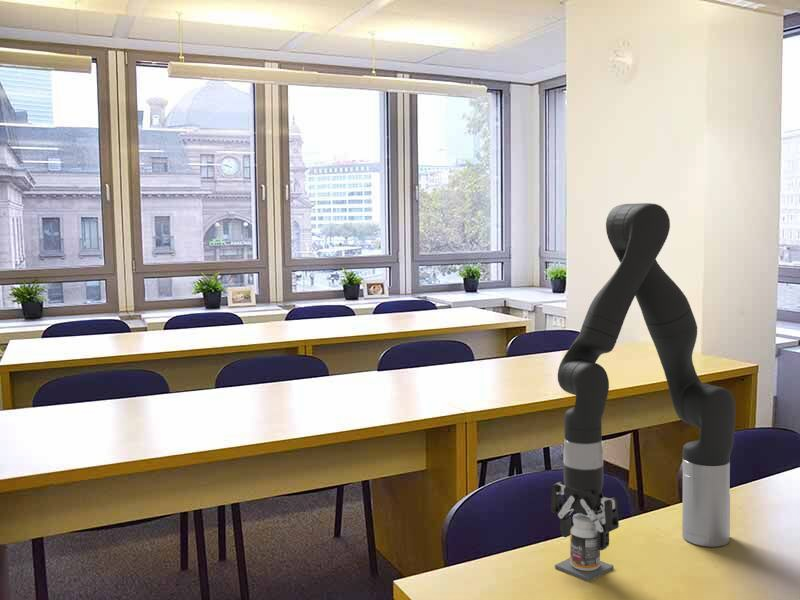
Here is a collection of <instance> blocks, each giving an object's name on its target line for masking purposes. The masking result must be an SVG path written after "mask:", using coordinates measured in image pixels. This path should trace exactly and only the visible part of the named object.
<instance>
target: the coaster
mask: <svg viewBox="0 0 800 600" xmlns="http://www.w3.org/2000/svg"><path fill="white" fill-rule="evenodd" d="M614 567H615V566H614V565H613V564H610V563H607V562H605V561H603V560H600V566H599V568H597V569H596V570H593V571H582V570H578V569H576V568H574V567H573V566H572V565H571V562H570V557H569V558H566V559H565V560H563V561H560V562H559V563H556V564H554V568H555V569H557V570H559V571H561V572H563V573H566V574H569V575H572V576H574V577H576V578H579V579H582V580H584V581H586V582H591V581H593V580H595V579H596V578H598V577H600V576H602V575H604V574H606V573H609V572H610V571H612V570H614V569H615V568H614Z"/></svg>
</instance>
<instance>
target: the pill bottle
mask: <svg viewBox="0 0 800 600" xmlns="http://www.w3.org/2000/svg"><path fill="white" fill-rule="evenodd" d="M572 523H573V525H571V530H570V536H569V537H570V540H569V541H570V546H569V547H570V548H569V549H570V551H569V552H570V554H569V555H570V557H569V558H570V562H571V565H572V566H573V567H574V568H576V569H578V570H582V571H593V570H596V569H597V568H599V566H600V561H601V550H599V549H598V548H597V531H599V530H598V529H597V527H596V525H595V523H594V522H592V521H591V519H590V518H589V516H587V515H584V514H582V513H581V512H576V513H575V514H573V516H572Z"/></svg>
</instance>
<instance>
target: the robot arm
mask: <svg viewBox="0 0 800 600" xmlns="http://www.w3.org/2000/svg"><path fill="white" fill-rule="evenodd" d="M605 220H606V222H605V231H606V235H607V236H606V237H607V239H608V241H609V243H610V246H611V248H612V249H613V251H614V253H615V255H616V257H617V258H618V259H617V260H618V262H619V265H618V267H617V268H616V270H615V271H614V273H613V274H611V275H612V276H611V277H610V278H609V279H608V281H607V282H606V283H605V284H604V285H603V286H602V288H601V289H600V290H599V291H598V292H597V294H595V296H594V298H593V300H592V301H591V303H590V305H589V307H588V310H587V312H586V315H585V317H584V320H583V322H582V326H581V328H580V332H579V334H578V335H577V337H576V338H575V339H574V341H573V342H572V344H571V345H570V347H569V348H568V349H567V351H566V353H565V355H564V356H563V358H562V359H561V361H560V363H559V367H558V369H557V370H558V371H557V382H558V385H559V387H560V388H561V389H562V390H563V391H564V392H566V393H568V394H570V395H574V396H575V403H574V406H573V407H571V408H569V409H567V410H566V411H565V413H564V421H563V423H564V424H563V425H564V439H563V440H564V443H563V450H562V451H563V452H562V453H563V455H562V456H563V481H558V482H555V483H554V484H552V485H551V497H550V498H551V499H550V501H551V502H550V503H551V504H550V511H551V513H552V514H556V515H557V517H558V518H559V531H560V533H561V537H564V538H568V537H570V530H571V528H572V517H571V514H572V513H573V512H575V513H582V514H584V515H587V516H589V518H590V519H591V521H592V522H594V523H595V525H596V527H597V529H598V530H599V531H597V548H598V549H599V550H600V552H601V551H604V550H606V549H607V548H608V547H609V546H610V532H613V531H615V530H616V529H618V528H620V526H619V525H620V523H619V508H618V499H617V497H614V496H613V497H611V498H610V497H605V496H604V495H603V488H604V447H603V440H602V438H603V437H602V436H603V435H602V434H603V431H602V427H603V426H602V425H603V423H602V418H603V415H604V413H605V412H604V411H605V408H606V403H607V399H608V395H609V389H610V382H609V381H610V380H609V376H608V373H607V370H606V369H605V368H604V367H603V366H602V365H601V364H599V363H596V362H597V361H598V359H599V358H600V356H601V355H603V354H607V353H611V352H612V351H613V349H614V348H615V346H616V343H617V341H618V339H619V336H620V333H621V330H622V328H623V325H624V322H625V319H626V316H627V315H628V312H629V310H630V308H631V305H632V303H633V302H634V299H635V298H636V301H637V303H638V306H639V308H640V311H641V314H642V317H643V319H644V323H645V325H646V327H647V330H648V333H649V335H650V337H651V340H652V342H653V344H654V347H655V349H656V352H657V355H658V357H659V360H660V364H661V367H662V369H663V372H664V375H665V376H664V377H665V379H666V382H667V386H668V387H667V388H668V391H669V394H670V395H669V396H670V398H671V401H672V406H673V408H674V411H675V413H676V415H677V417H678V418H679V419H680V421H682V422H684V423H685V424H687V425H690V426H693V427H694V426H695V427H697V428H699V429H700V433H699V439H697V440H691V441H689V442H686V443H684V445H683V447H682V520H681V522H682V525H681V526H682V527H681V529H682V538H683V539H684V540H685V541H687V542H689V543H691V544H694V545H696V546H701V547H707V548H709V547H712V548H715V547H716V548H717V547H723V546H725V545H728V544H729V542H730V535H731V534H730V533H731V531H730V530H731V494H730V491H731V489H730V484H731V483H730V479H731V477H730V476H731V475H730V470H731V468H730V467H731V459H730V458H731V453H732V451H733V447H734V443H735V427H736V416H737V415H736V412H737V411H736V410H737V409H736V408H737V407H736V400H735V397H734V395H733V394H732V392H731V391H730V390H728V389H727V388H725V387H721V386H717V385H713V384H708V383H705V382H702V381H701V380H700V378H699V375H698V374H697V372H696V368H695V366H694V362H693V353H694V349H695V346H696V343H697V337H698V325H697V322H696V318H695V316H694V313H693V310H692V308H691V305H690V301H689V300H688V297H686V296H687V295H685V293H684V292H683V290H681V288H680V287H679V286H678V285H677V284H676V282H674V281H675V280H673V279H672V278H671V277H670V276H669V275H668V274H667V273H666V272H665V271H664V270H663V268H662V266H660V264H659V263H658V261H657V257H658V256H659V254H660V253H661V250H662V248H663V247H664V245H665V243H666V240H667V238H668V236H669V233H670V228H671V222H670V221H671V220H670V216H669V214H668V212H667V210H666V209H665V208H664V207H663V206H662V205H660V204H657V203H650V202H649V203H648V202H647V203H646V202H645V203H642V202H641V203H639V202H638V203H625V204H623V203H622V204H619V205H616V206H614V207H613V208H611V210H610V211H609V213H608V215H607V217H606V219H605ZM564 497H566V499H567V500H566V502H564V499H565V498H564ZM596 512H597V514H596Z"/></svg>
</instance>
